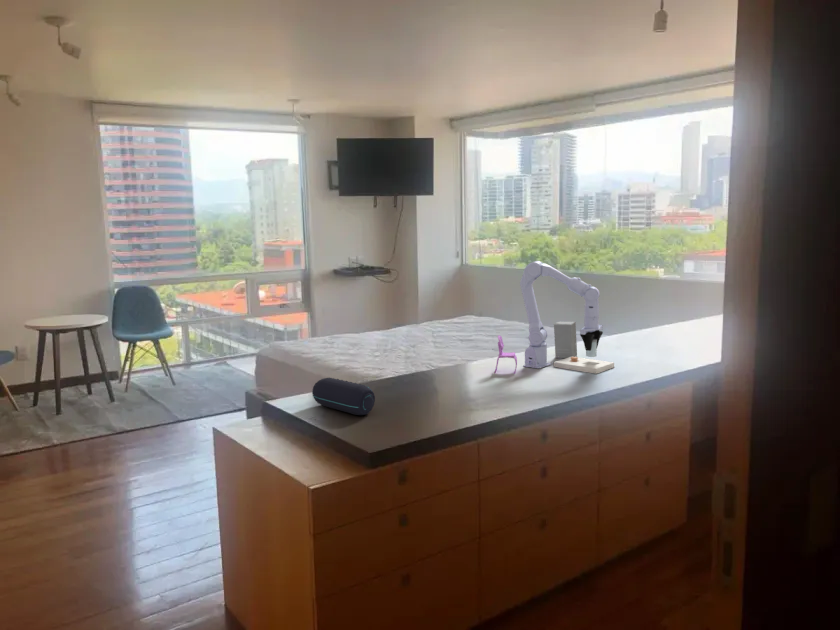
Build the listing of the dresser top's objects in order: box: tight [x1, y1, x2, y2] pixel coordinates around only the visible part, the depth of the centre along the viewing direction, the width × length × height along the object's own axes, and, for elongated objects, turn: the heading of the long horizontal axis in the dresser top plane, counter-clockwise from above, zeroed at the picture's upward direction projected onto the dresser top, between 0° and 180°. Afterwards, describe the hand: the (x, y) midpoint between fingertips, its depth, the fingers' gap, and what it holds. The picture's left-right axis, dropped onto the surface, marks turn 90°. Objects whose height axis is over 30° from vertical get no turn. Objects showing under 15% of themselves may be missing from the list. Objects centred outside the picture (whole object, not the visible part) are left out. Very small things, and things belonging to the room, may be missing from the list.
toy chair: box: [494, 335, 518, 374], centre depth 267 cm, size 8×9×15 cm
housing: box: [553, 356, 615, 375], centre depth 272 cm, size 14×20×2 cm
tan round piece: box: [571, 356, 578, 362], centre depth 275 cm, size 3×3×3 cm
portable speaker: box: [312, 377, 376, 416], centre depth 220 cm, size 25×10×10 cm, turn 47°
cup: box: [585, 338, 598, 358], centre depth 268 cm, size 4×4×7 cm
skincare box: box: [553, 321, 578, 359], centre depth 291 cm, size 8×7×16 cm
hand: (591, 349), depth 268 cm, fingers closed on cup, 4 cm apart
